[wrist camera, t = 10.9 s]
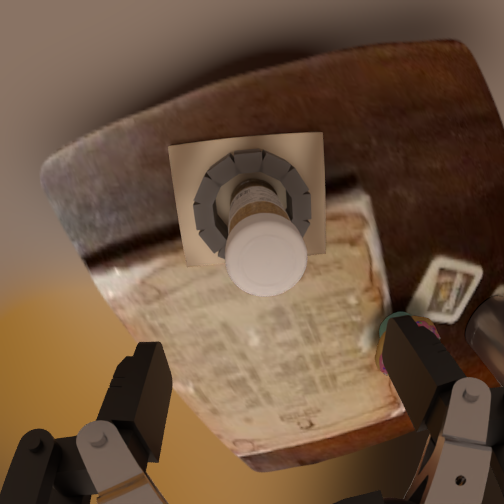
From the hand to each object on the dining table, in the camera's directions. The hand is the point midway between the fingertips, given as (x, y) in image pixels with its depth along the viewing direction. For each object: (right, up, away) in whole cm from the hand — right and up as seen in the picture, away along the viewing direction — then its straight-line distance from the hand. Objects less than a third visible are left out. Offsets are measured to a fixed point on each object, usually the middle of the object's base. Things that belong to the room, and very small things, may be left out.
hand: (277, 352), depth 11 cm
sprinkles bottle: (-1, +8, +19) cm, 21 cm away
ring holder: (-1, +9, +20) cm, 22 cm away
